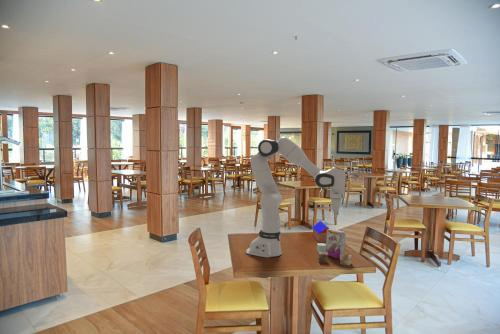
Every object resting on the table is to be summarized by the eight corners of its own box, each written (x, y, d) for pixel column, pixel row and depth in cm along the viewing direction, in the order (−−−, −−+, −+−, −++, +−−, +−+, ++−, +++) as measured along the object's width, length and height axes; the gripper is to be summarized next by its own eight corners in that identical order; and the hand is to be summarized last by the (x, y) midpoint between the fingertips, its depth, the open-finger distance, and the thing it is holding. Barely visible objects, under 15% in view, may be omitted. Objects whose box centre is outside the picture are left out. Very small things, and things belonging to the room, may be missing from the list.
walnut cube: (318, 262, 200) (319, 254, 200) (318, 259, 205) (318, 251, 205) (327, 263, 199) (327, 254, 199) (327, 260, 204) (327, 252, 204)
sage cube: (319, 253, 218) (319, 245, 217) (316, 250, 223) (316, 243, 222) (326, 253, 218) (326, 245, 218) (324, 250, 223) (324, 243, 223)
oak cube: (340, 264, 197) (340, 255, 197) (342, 262, 202) (343, 253, 201) (348, 266, 195) (348, 257, 194) (351, 263, 199) (351, 255, 199)
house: (318, 243, 241) (319, 226, 240) (312, 235, 261) (312, 220, 260) (335, 243, 242) (335, 226, 241) (327, 235, 261) (328, 220, 261)
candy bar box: (325, 255, 214) (326, 229, 213) (330, 253, 217) (331, 228, 216) (339, 260, 205) (340, 232, 204) (344, 258, 208) (345, 231, 207)
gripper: (333, 191, 219) (332, 212, 220) (330, 195, 200) (329, 218, 201) (343, 192, 217) (342, 213, 218) (341, 196, 198) (340, 220, 199)
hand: (336, 216), depth 209 cm, fingers open, 7 cm apart
